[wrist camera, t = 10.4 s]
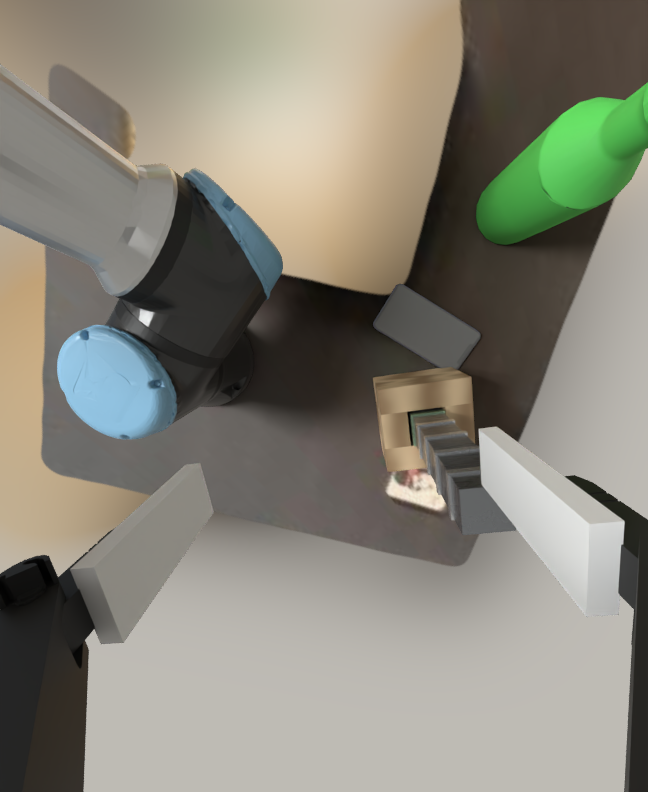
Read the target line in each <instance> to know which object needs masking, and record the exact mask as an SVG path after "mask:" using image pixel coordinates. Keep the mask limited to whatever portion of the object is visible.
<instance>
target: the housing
mask: <svg viewBox="0 0 648 792" xmlns="http://www.w3.org/2000/svg"><path fill="white" fill-rule="evenodd" d="M373 383H374V391H375V399H376V407H377V414H378V422H379V430H380V437H381V445H382V450H383V454H384V458H385V462H386V466H387V469H388V472H393V471H402V470H411V469H420V468H427V466H426V464H425V462H424V460H423V459H420V457H419V451H418V449H417V447H416V446H414V445H413V439H412V437H411V435H410V430H409V424H408V415H407V412H408V411H416V410H423V409H431V408H440V409H441V410H442V409H444V410H445V414H446V415H447V416H448V417H449V418H450V419H454V420H455V424H456V425H457V426H458V427H459V428H460V429H461V430H462V431H466V432H467V433H468V437H469V438H470V439H471V440H472V441H473V442H474V443H475V431H474V413H473V395H472V378H471V376H468V375H466V374H464V373H462V372H460V371H458V370H456V369H454V368H452V367H447V368H435V369H428V370H421V371H414V372H408V373H401V374H394V375H387V376H380V377H373Z"/></svg>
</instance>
